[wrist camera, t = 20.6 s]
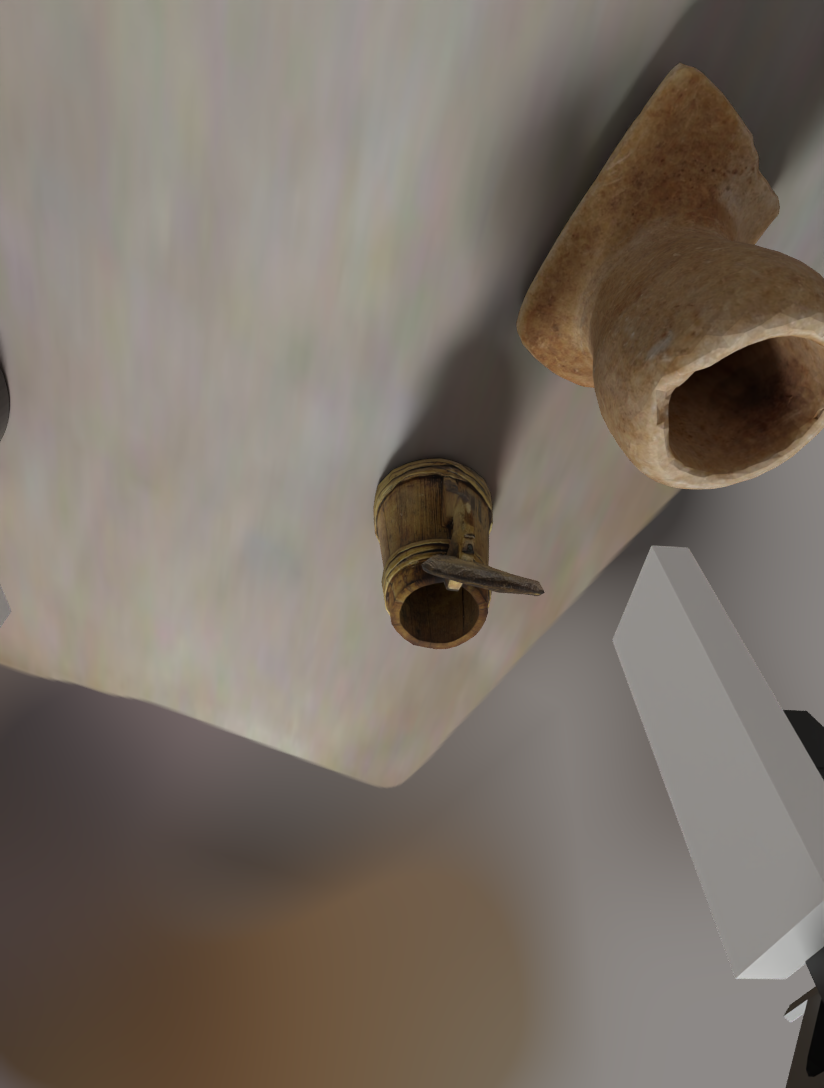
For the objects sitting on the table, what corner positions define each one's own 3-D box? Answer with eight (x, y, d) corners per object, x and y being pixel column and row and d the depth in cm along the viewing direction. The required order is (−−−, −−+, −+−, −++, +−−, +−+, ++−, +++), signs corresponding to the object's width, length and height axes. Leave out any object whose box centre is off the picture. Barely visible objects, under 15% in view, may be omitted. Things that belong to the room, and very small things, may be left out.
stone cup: (632, 413, 42) (723, 555, 31) (486, 325, 39) (526, 448, 27) (824, 193, 34) (1046, 271, 23) (664, 54, 31) (833, 60, 19)
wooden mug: (535, 417, 42) (605, 603, 28) (468, 566, 50) (497, 768, 36) (408, 384, 41) (414, 563, 27) (359, 543, 49) (345, 745, 35)
